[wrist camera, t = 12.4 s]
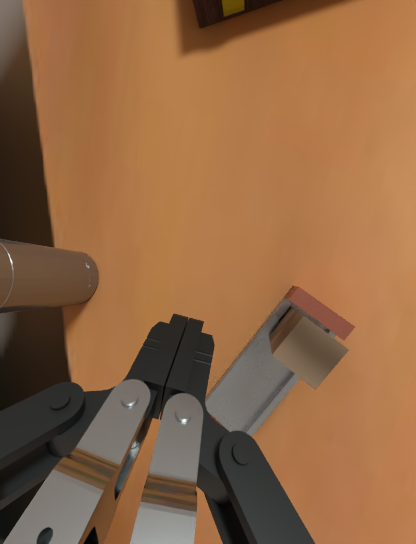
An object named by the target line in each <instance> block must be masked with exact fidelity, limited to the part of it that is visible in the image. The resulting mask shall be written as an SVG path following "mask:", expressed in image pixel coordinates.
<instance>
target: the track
mask: <svg viewBox="0 0 416 544" xmlns="http://www.w3.org/2000/svg"><path fill="white" fill-rule="evenodd" d="M290 307H293V308H294V309H295V310H297V311H298V312H300V313H301V314H302V315H304V316H305V317H306V318H308V319H309V320H310V321H312V322H313V323H315V324H316V325H317V326H319V327H320V328H321V329H323V330H324V331H325V332H327V333H328V334H329V335H330V336H332V337H333V338H334V337H335V335H337V336H339V337H340V338H341V339H343V340H345V339H346V337H347V336H348V335H349V334H350V333H351V331H352V330H353V329H354V328H355V326H353V325H352V324H350V323H349V322H348V321H346V320H345V319H343V318H342V317H341V316H339V315H338V314H336V313H335V312H333V311H332V310H331V309H329V308H328V307H326V306H325V305H324V304H322V303H321V302H319V301H318V300H317V299H315V298H314V297H312V296H311V295H310V294H308V293H307V292H305V291H304V290H302V289H301V288H300V287H297V286H293V287H292V288H291V289H290V290H289V292H288V293H287V294H286V296H285V297H284V298H283V299H282V301H281V302H280V303H279V304H278V306H277V307H276V308H275V310H274V311H273V312H272V313H271V315H270V316H269V317H268V318H267V320H266V321H265V322H264V324H263V325H262V326H261V327H260V329H259V330H258V331H257V332H256V334H255V335H254V336H253V338H252V339H251V340H250V341H249V343H248V344H247V345H246V347H245V348H244V349H243V350H242V352H241V353H240V354H239V355H238V357H237V358H236V359H235V361H234V362H233V363H232V364H231V366H230V367H229V368H228V369H227V371H226V372H225V373H224V375H223V376H222V377H221V378H220V380H219V381H218V382H217V383H216V385H215V386H214V387H213V389H212V390H211V391H210V392H209V394H208V395H207V396H206V398H205V405H206V409H207V411H208V412H209V413H210V414H211V415H212V416H213V417H214V418H215V419H216V420H217V421H218V422H220V423H221V424H222V425H223V426H224V427H225V428H226V429H227V430H228V431H229V432H231V431H243V432H245V433H247V434H248V435H250V436H251V437H252V435H253V434H254V433H255V432H256V431H257V429H258V428H259V427H260V426H261V425H262V423H263V422H264V421H265V420H266V419H267V417H268V416H269V415H270V414H271V413H272V411H273V410H274V409H275V408H276V407H277V405H278V404H279V403H280V402H281V401H282V399H283V398H284V397H285V396H286V394H287V393H288V392H289V391H290V390H291V388H292V387H293V386H294V385H295V384H296V382H297V381H298V380H299V379H300V377H299V376H297V375H296V374H295V373H294V372H292V371H291V370H290V369H289V368H287V367H286V366H285V365H284V364H282V363H281V362H280V361H279V360H277V359H276V358H275V357H274V356H272V352H271V346H270V340H269V334H270V333H271V331H272V330H273V329H274V328H275V326H276V325H277V324H278V323H279V321H280V320H281V319H282V318H283V316H284V315H285V314H286V313H287V311H288V310H289V309H290Z"/></svg>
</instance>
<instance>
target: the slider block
mask: <svg viewBox="0 0 416 544" xmlns="http://www.w3.org/2000/svg"><path fill="white" fill-rule="evenodd" d="M269 340H270V346H271V352H272V356H274V357H275V358H276V359H277V360H279V361H280V362H281V363H282V364H284V365H285V366H286V367H287V368H289V369H290V370H291V371H292V372H294V373H295V374H296V375H297V376H299V377H300V378H301V379H302V380H304V381H305V382H306V383H307V384H309V385H310V386H311V387H312V388H314V389H315V390H316V388H317V387H318V386H319V385H320V384H321V382H322V381H323V380H324V379H325V378H326V376H327V375H328V374H329V373H330V372H331V371H332V369H333V368H334V367H335V366H336V365H337V363H338V362H339V361H340V360H341V359H342V358H343V356H344V355H345V354H346V353H347V352H348V349H347V348H346V347H345V346H343V345H342V344H341V343H339V342H338V341H337V340H336V339H334V338H333V337H332V336H330V335H329V334H328V333H327V332H325V331H324V330H323V329H321V328H320V327H319V326H317V325H316V324H315V323H313V322H312V321H310V320H309V319H308V318H306V317H305V316H304V315H302V314H301V313H300V312H298V311H297V310H295V309H294V308H293V307H290V309H289V310H288V311H287V313H286V314H285V315H284V316H283V318H282V319H281V320H280V321H279V323H278V324H277V325H276V326H275V328H274V329H273V330H272V331H271V333H270V334H269Z"/></svg>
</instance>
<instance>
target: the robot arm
mask: <svg viewBox="0 0 416 544" xmlns="http://www.w3.org/2000/svg"><path fill="white" fill-rule="evenodd" d="M97 284H98V270H97V267H96V265H95V263H94V261H93V260H92V259H91V258H90V257H89V256H88V255H86V254H84V253H82V252H76V251H70V250H64V249H58V248H52V247H45V246H40V245H33V244H27V243H20V242H15V241H8V240H2V239H0V313H8V312H17V311H25V310H33V309H40V308H49V307H57V306H65V305H73V304H80V303H83V302H85V301H87V300H88V299H89V298H90V297H91V296H92V295H93V293H94V292H95V290H96V288H97ZM203 323H204V321H200V320H196V319H193V318H189V320H188V317H185V316H181V315H177V314H173V316H172V318H171V320H170V323H169V324H168V323H164V322H159V323H157V324H156V325H155V326H154V327H152V329H151V330H150V332H149V334H148V336H147V339H146V340H145V342H144V344H143V346H142V348H141V350H140V351H139V353H138V355H137V357H136V359H135V361H134V363H133V365H132V367H131V369H130V371H129V373H128V374H127V376H126V378H125V379H124V380H123V381H122V382H121V383H119V384H118V385H117V386H115V387H113V388H111V389H108V390H102V391H87V392H83V389H82V388H81V387H80V386H79V385H78V384H76V383H73V382H64V383H59V384H56V385H54V386H52V387H50V388H48V389H46V390H44V391H42V392H39V393H37V394H35V395H33V396H31V397H29V398H27V399H25V400H23V401H21V402H19V403H17V404H14V405H12V406H10V407H8V408H6V409H4V410H2V411H0V510H1V509H2V508H4V507H5V506H7V505H8V504H9V503H11V502H12V501H14V500H15V499H17V498H18V497H20V496H21V495H22V494H24V493H25V492H27V491H28V490H30V489H31V488H32V487H34V486H35V485H37V484H38V483H40V482H41V481H43V480H44V479H46V478H47V479H46V480H45V482H44V483H43V485H42V486H41V488H40V489H39V491H38V492H37V494H36V496H35V497H34V498H33V500H32V501H31V503H30V504H29V506H28V507H27V509H26V510H25V512H24V513H23V515H22V516H21V518H20V519H19V521H18V522H17V524H16V525H15V527H14V528H13V530H12V531H11V533H10V534H9V536H8V537H7V539H6V540H5V542H4V543H3V544H103V542H104V540H105V537H106V535H107V533H108V530H109V528H110V525H111V522H112V520H113V517H114V514H115V510H116V507H117V504H118V501H119V499H120V496H121V494H122V492H123V489H124V487H125V485H126V482H127V480H128V478H129V475H130V473H131V471H132V468H133V466H134V463H135V461H136V459H137V456H138V454H139V452H140V449H141V447H142V445H143V442H144V440H145V437H146V435H147V432H148V429H149V427H150V424H151V421H152V418H155V419H159V415H160V412H161V416H160V420H161V423H160V427H159V431H158V435H157V439H156V443H155V447H154V451H153V456H152V460H151V464H150V468H149V472H148V476H147V480H146V483H145V486H144V490H143V493H142V497H141V501H140V505H139V509H138V513H137V517H136V521H135V525H134V529H133V533H132V538H131V542H130V544H194V536H195V525H196V514H197V493H196V486H197V487H198V488H200V489H201V490H202V491H203V492H204V494H205V497H206V500H207V503H208V505H209V508H210V511H211V513H212V516H213V519H214V521H215V524H216V526H217V529H218V532H219V534H220V537H221V540H222V542H223V544H315V543H314V541H313V539H312V537H311V536H310V534H309V532H308V531H307V529H306V527H305V525H304V524H303V522H302V520H301V519H300V517H299V515H298V513H297V512H296V510H295V508H294V506H293V505H292V503H291V501H290V500H289V498H288V496H287V494H286V493H285V491H284V489H283V488H282V486H281V484H280V482H279V481H278V479H277V477H276V476H275V474H274V472H273V470H272V469H271V467H270V465H269V463H268V462H267V460H266V458H265V457H264V455H263V453H262V451H261V450H260V448H259V446H258V445H257V443H256V442H255V440H254V439H253V438H252V437H251V436H250V435H248V434H247V433H245V432H243V431H231V432H229V431H227V430H226V429H225V428H223V427H222V426H220V425H219V424H218V423H216V422H215V421H214V420H213V419H212V418H211V416H210V415H209V413H208V411H207V409H206V405H205V396H206V390H207V385H208V379H209V373H210V368H211V362H212V356H213V351H214V341H213V338H212V335H209V334H205V333H202V332H201V331H202V327H203ZM161 409H162V410H161Z"/></svg>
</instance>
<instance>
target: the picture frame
mask: <svg viewBox="0 0 416 544" xmlns="http://www.w3.org/2000/svg"><path fill="white" fill-rule="evenodd" d="M279 1H282V0H193V2H194V7H195V11H196V15H197V19H198V24H199V28H203V27H206V26H209V25H212V24H215V23H218V22H221V21H223V20H226V19H229V18H232V17H235V16H238V15H241V14H244V13H247V12H250V11H253V10H255V9H258V8H261V7H264V6H267V5H270V4H273V3H276V2H279Z"/></svg>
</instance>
